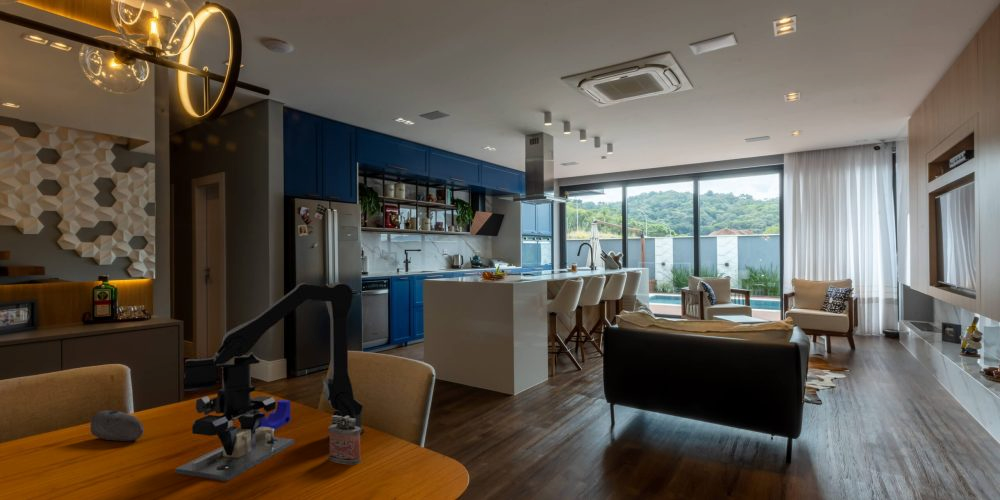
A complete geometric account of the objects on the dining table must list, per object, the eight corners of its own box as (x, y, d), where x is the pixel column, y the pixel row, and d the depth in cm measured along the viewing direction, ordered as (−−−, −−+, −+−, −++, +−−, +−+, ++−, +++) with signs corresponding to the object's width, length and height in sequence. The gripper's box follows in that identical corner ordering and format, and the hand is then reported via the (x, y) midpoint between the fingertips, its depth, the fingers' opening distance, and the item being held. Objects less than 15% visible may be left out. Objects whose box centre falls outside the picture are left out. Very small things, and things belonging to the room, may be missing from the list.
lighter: (364, 459, 107) (363, 415, 107) (355, 465, 104) (354, 420, 104) (335, 454, 110) (334, 412, 110) (325, 460, 107) (325, 417, 107)
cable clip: (276, 420, 134) (276, 399, 134) (290, 421, 133) (290, 400, 133) (246, 437, 122) (245, 414, 122) (261, 438, 121) (261, 415, 121)
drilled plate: (293, 443, 117) (293, 427, 117) (227, 481, 98) (227, 461, 98) (248, 438, 121) (248, 422, 121) (175, 473, 101) (175, 454, 101)
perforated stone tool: (151, 438, 121) (151, 411, 121) (130, 446, 116) (130, 418, 116) (109, 433, 125) (109, 407, 125) (87, 440, 120) (87, 413, 120)
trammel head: (254, 451, 110) (254, 429, 110) (240, 458, 106) (240, 436, 106) (237, 449, 111) (237, 428, 111) (223, 456, 107) (223, 434, 107)
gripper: (241, 372, 120) (241, 433, 120) (172, 393, 102) (172, 464, 102) (277, 374, 117) (277, 437, 117) (212, 397, 99) (213, 470, 99)
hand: (237, 451), depth 109 cm, fingers closed on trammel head, 4 cm apart
